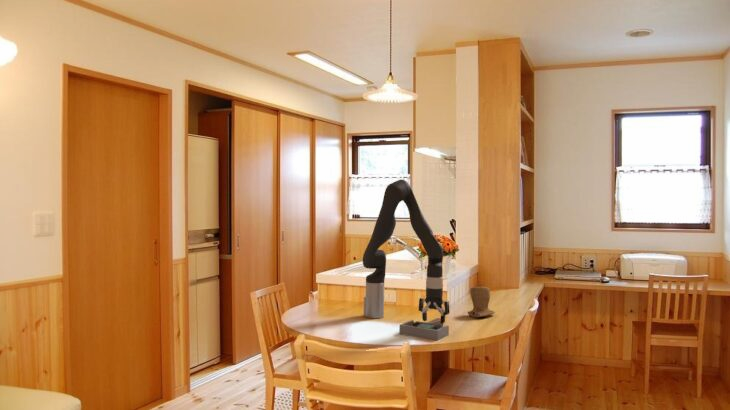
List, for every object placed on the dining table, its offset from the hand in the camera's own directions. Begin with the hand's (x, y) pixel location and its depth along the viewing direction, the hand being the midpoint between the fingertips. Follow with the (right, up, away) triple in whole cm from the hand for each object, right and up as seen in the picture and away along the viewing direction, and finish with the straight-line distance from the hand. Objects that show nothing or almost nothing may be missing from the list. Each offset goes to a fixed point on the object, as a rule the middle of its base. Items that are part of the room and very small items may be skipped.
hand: (433, 322), depth 259 cm
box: (-5, -4, -8) cm, 10 cm away
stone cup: (+27, -4, +32) cm, 42 cm away
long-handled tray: (0, -4, -1) cm, 4 cm away
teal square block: (-4, -4, -8) cm, 10 cm away
